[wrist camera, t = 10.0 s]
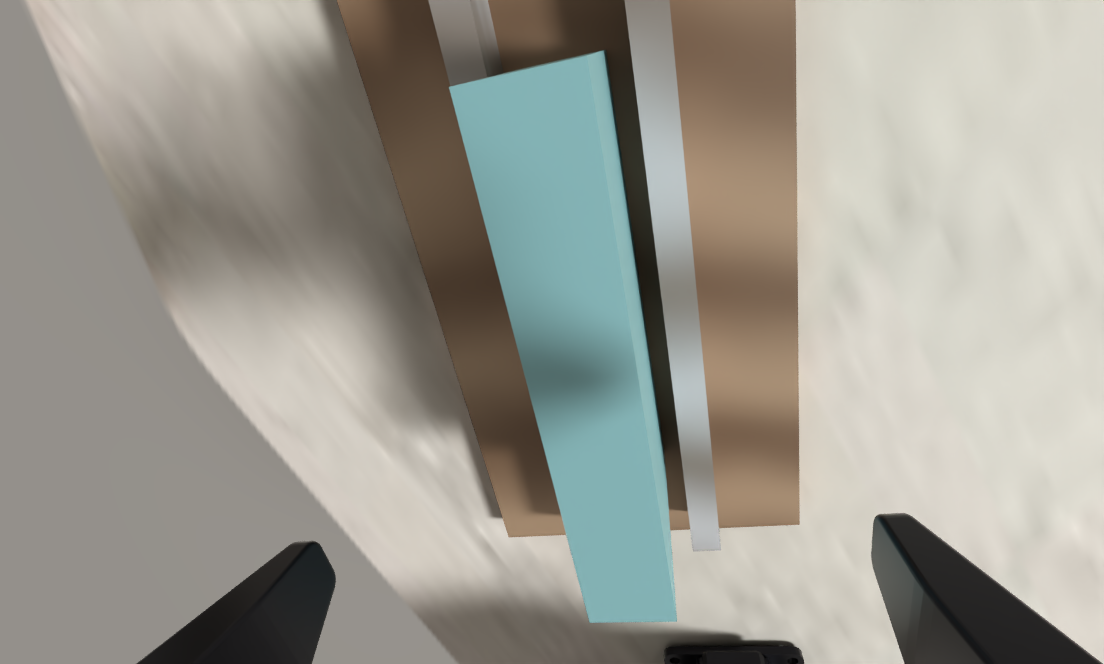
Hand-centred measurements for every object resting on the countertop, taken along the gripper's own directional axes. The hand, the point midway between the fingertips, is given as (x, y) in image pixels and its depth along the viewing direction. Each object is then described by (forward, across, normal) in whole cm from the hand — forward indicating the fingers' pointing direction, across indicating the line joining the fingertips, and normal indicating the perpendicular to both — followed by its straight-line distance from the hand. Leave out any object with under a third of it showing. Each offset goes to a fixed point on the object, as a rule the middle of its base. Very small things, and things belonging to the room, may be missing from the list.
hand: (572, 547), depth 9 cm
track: (+12, 0, 0) cm, 12 cm away
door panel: (+11, 0, 0) cm, 11 cm away
